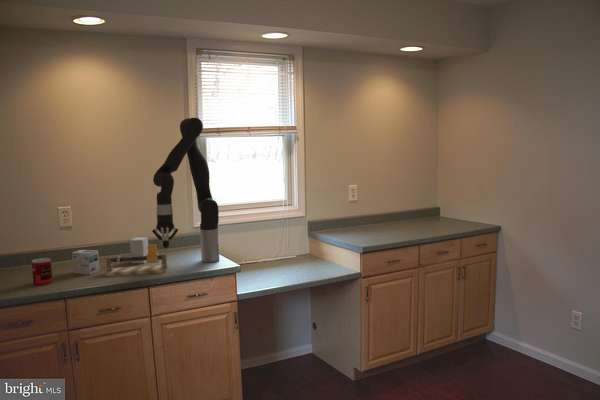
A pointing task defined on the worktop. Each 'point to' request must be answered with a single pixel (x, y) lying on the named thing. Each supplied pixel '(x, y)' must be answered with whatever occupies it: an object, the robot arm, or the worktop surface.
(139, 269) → the beige long open box
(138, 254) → the supplement box
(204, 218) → the robot arm
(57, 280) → the worktop surface
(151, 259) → the sleeve
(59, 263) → the worktop surface
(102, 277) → the worktop surface
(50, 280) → the canned food
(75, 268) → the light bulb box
